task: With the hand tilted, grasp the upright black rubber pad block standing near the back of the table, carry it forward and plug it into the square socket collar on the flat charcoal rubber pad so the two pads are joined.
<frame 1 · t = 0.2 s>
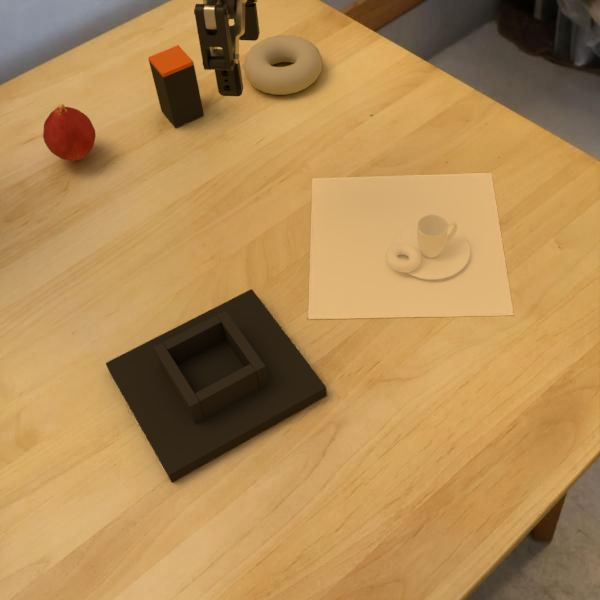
hand: (240, 65, 81), 18 cm above the table, tool pointing down, fingers open, 8 cm apart
base pad: (215, 383, 80), on the table
pomegranate: (78, 159, 102), on the table
donut: (284, 76, 109), on the table
pad block: (182, 113, 106), on the table
teacup and saucer: (405, 242, 90), on the table
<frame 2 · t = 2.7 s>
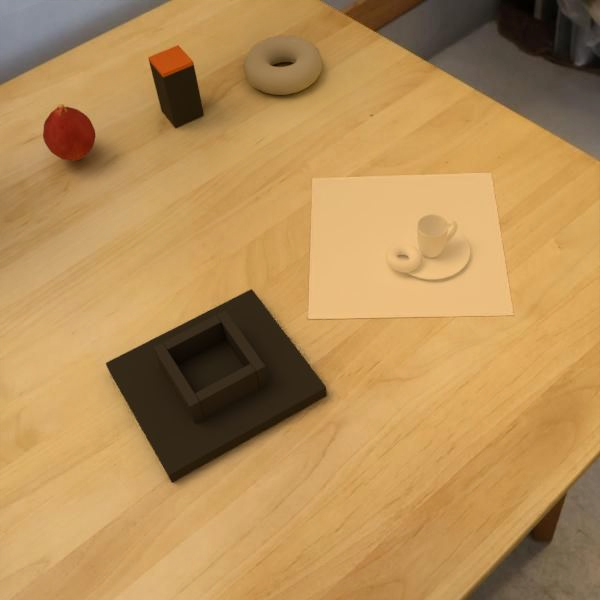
nothing on the table moved.
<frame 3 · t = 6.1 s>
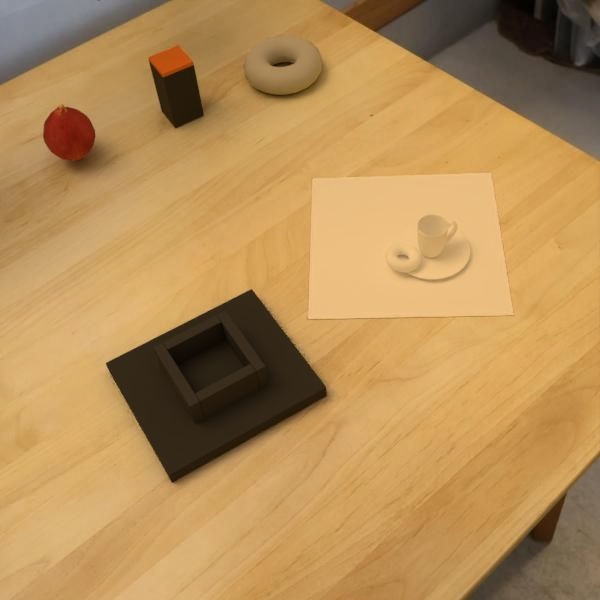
nothing on the table moved.
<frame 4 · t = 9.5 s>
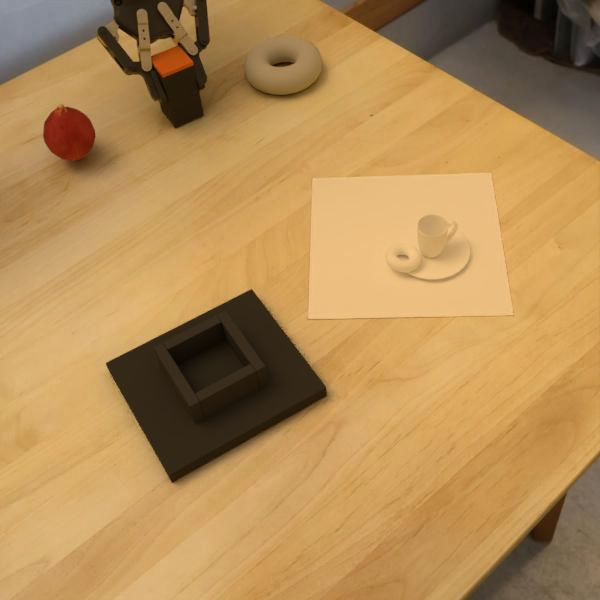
hand: (182, 95, 101), 4 cm above the table, tool tilted 45°, fingers closed on pad block, 4 cm apart
pad block: (182, 113, 106), on the table, touching gripper
everything else where it was.
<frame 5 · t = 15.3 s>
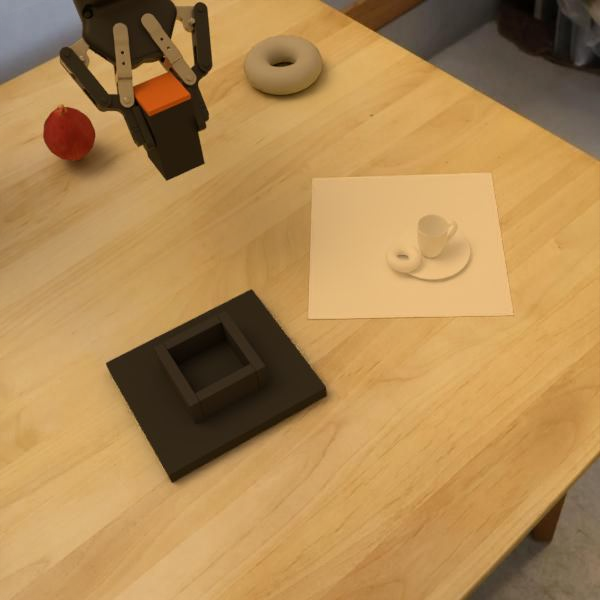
hand: (176, 138, 75), 18 cm above the table, tool tilted 45°, fingers closed on pad block, 4 cm apart
pad block: (176, 160, 80), point 14 cm above the table, touching gripper
everything else where it was.
when the fingers open (6 cm above the table, at t = 21.2 s): pad block stays where it is, resting on base pad.
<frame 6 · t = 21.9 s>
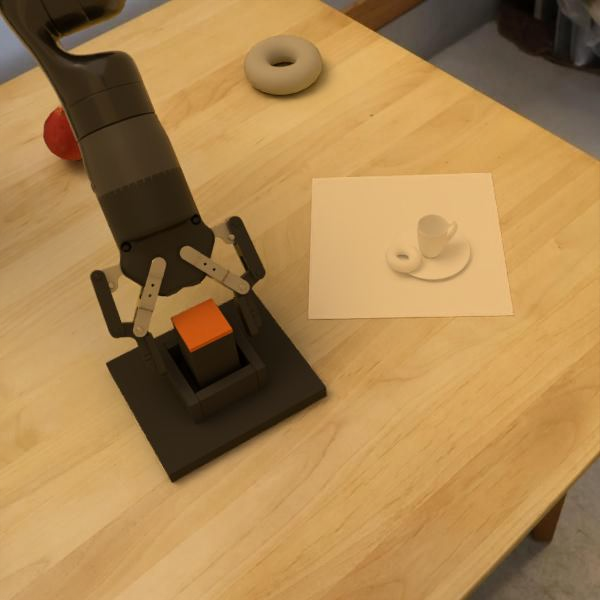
hand: (209, 354, 74), 7 cm above the table, tool tilted 45°, fingers open, 8 cm apart
pad block: (215, 374, 79), point 1 cm above the table, touching base pad
everything else where it was.
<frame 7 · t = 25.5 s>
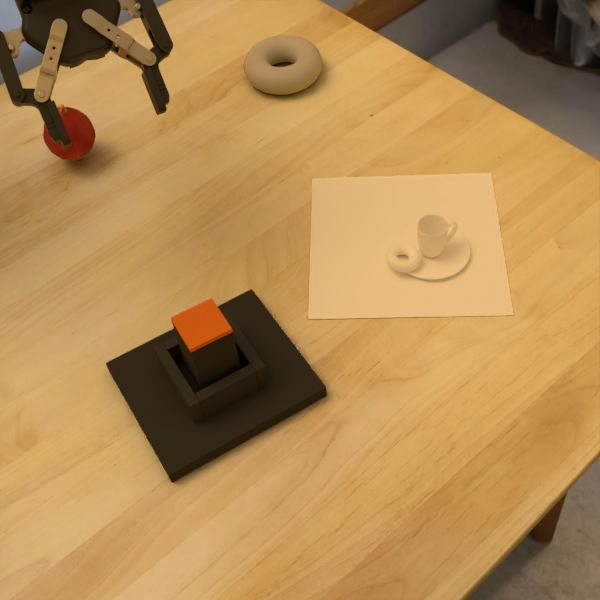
hand: (115, 128, 73), 20 cm above the table, tool tilted 45°, fingers open, 8 cm apart
nothing on the table moved.
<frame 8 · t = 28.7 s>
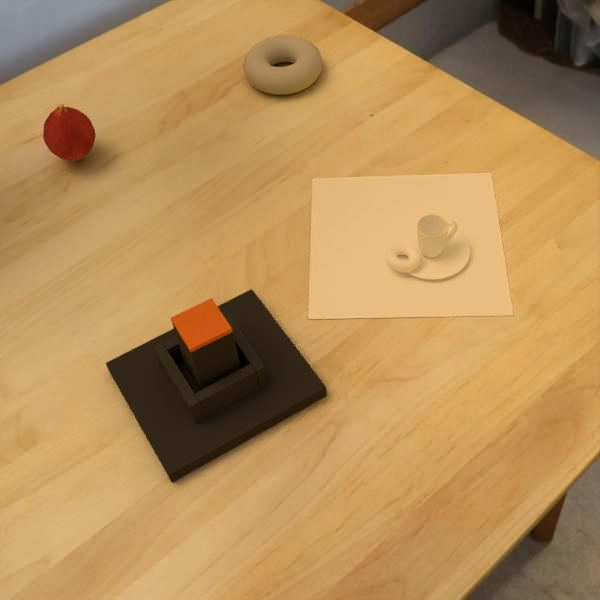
nothing on the table moved.
at the end: pad block 0.1 cm off-centre on the base pad, point 1.5 cm above the base pad's base; pad block tilted 0°; the gripper is holding nothing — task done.
